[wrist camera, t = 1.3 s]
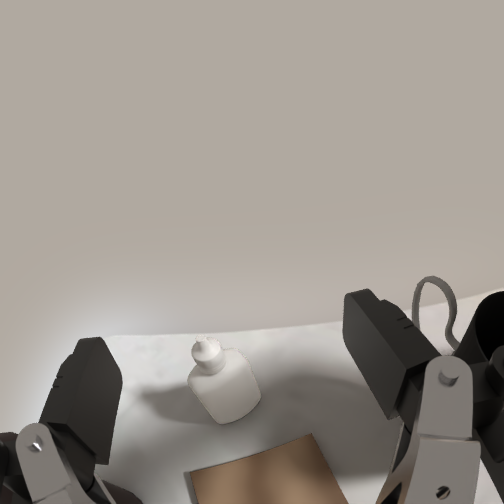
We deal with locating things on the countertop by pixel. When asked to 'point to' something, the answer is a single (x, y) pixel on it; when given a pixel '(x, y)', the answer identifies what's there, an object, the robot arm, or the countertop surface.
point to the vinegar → (122, 497)
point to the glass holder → (481, 326)
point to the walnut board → (271, 478)
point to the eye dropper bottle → (222, 380)
